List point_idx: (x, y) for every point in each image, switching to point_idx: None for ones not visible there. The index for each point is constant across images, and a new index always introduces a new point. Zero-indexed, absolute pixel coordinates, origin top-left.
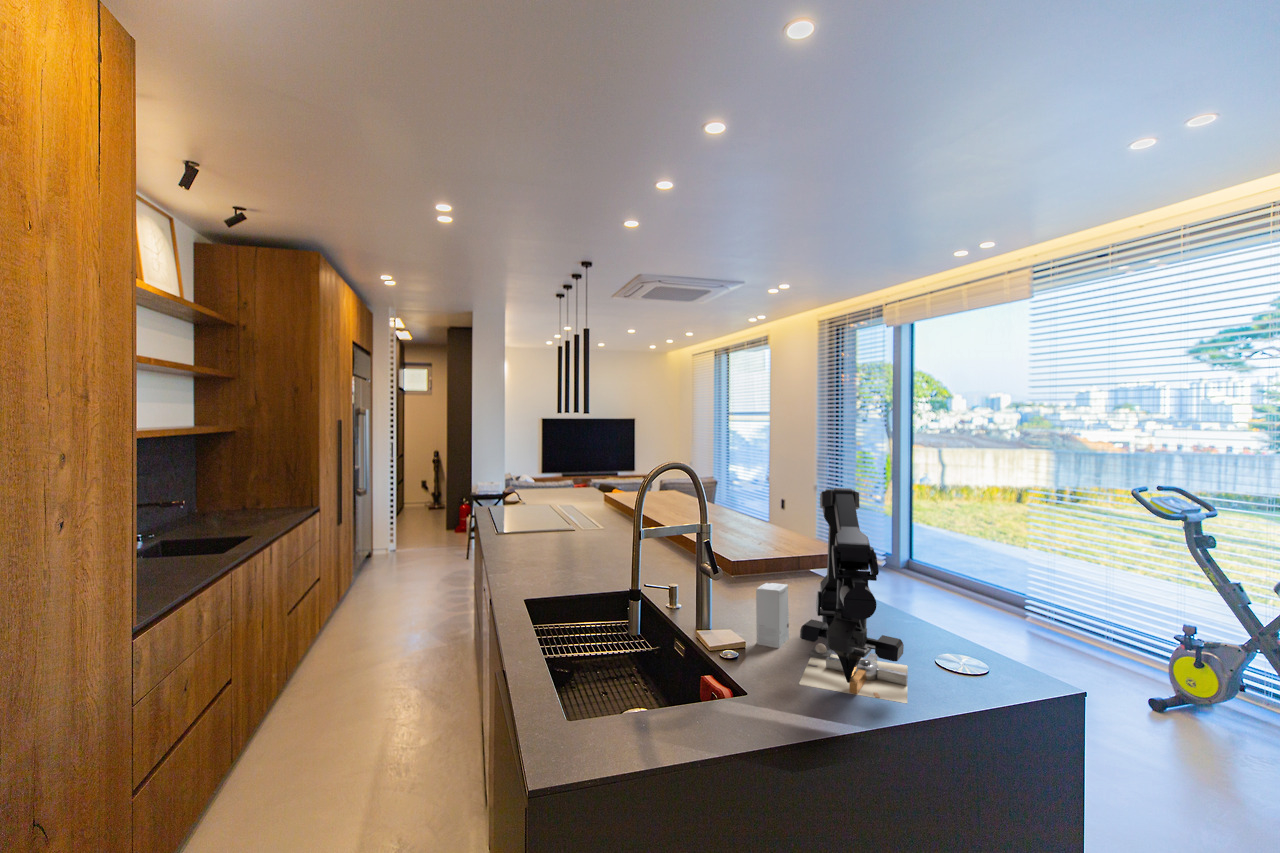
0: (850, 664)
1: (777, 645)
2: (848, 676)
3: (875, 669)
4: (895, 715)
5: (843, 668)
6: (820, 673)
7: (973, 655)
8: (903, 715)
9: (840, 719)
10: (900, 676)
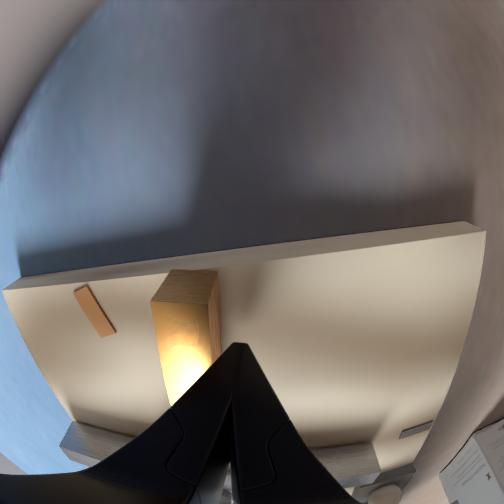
0: (190, 440)
1: (485, 446)
2: (232, 365)
3: None
4: (30, 217)
5: (273, 404)
6: (395, 399)
7: None
8: (16, 236)
9: (213, 12)
10: (77, 445)
